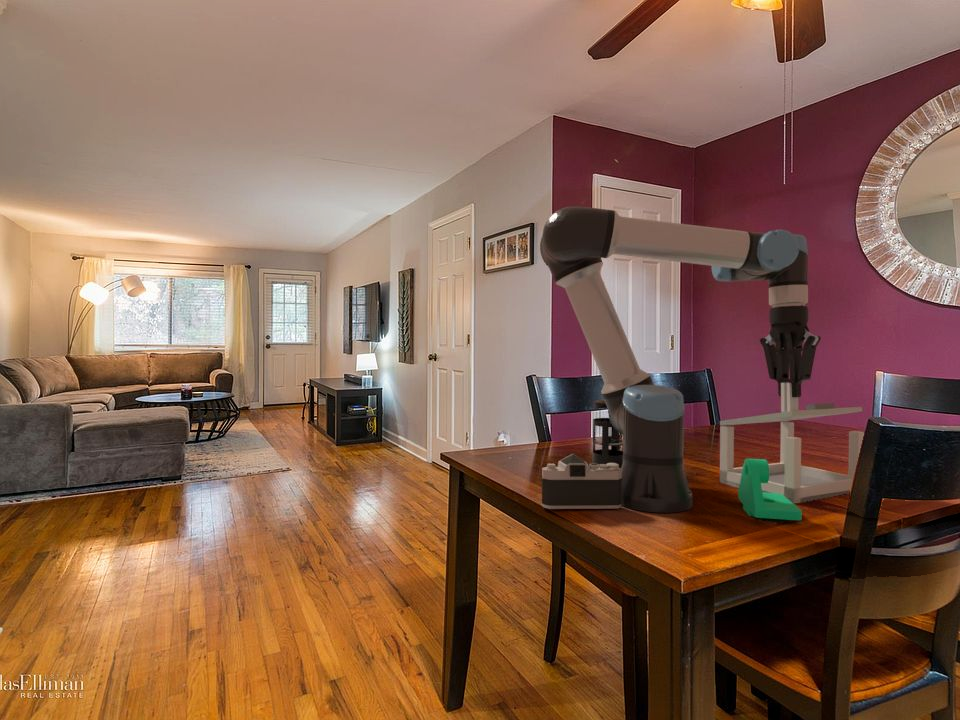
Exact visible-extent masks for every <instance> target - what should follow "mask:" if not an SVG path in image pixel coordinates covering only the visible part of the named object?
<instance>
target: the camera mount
mask: <svg viewBox="0 0 960 720" xmlns="http://www.w3.org/2000/svg"><path fill="white" fill-rule="evenodd" d="M743 461H744V462H743V465H742V467H743V470H742V475H741V480H740V485H739V488H738V491H737V499H738V500H739V501H740V502H741V503H742V509H743V510H744V512H745V513H747V515H748V516H749V517H755V518H760V519H771V520H772V519H774V520H784V521H785V520H789V521H802V518H803V517H802V515H803V513H802V512H803V511H802V509H800V508H799V507H798V506H797V505H796V504H793V503H792V502H791V501H789V500H788V499H787V498H786V497H784V496H783V495H782V494H778V493H764V492H762V487H761V483H768V481H769V465H768V464H769V463H768V460H767V459H765V458H764V459H763V458H761V459H760V458H745V459H744V460H743Z"/></svg>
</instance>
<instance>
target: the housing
mask: <svg viewBox="0 0 960 720" xmlns="http://www.w3.org/2000/svg"><path fill="white" fill-rule="evenodd" d="M719 426H720V427H719V430H720V433H719V483H720V484H724V485H727V486H730V487H734V488H737V489H739V485H740V480H741V475H742V470H743V466H739V467H734V466H735V465H734V460H735V459H734V457H735V455H734V454H735V453H734V452H735V451H734V450H735V449H734V447H735V446H734V445H735V443H734V442H735V427H734V426H731V425H719ZM864 432H865V431H859V430H849V431H848V467H847V469H848V472H847V473H848V474H844V473H839V472H834V471H831V470H830V471H829V470H825V469H820V468H816V467H812V466H807V465H803V464H802V437H797V436H795V422H792V421H780V449H779V450H780V453H779V454H780V455H779V456H780V458H779V459H780V461H779V462H773V463H768V465H769V481H768V483H761V487H762V492H764V493H778V494H782V495H783V496H784V497H786V498H787V499H788V500H789V501H791V502H792V503H793V504H794V505H796V504H803V503H807V501H808V502H813V500H815V501H818V499H820V500H823V499H822V498H826V499H829V498H828V497H831V498H834V497H833V496H836V497H839V496H838V495H842V496H844V495H843V494H847V495H850V494H849V493H850V489H851V486H852V482H853V477H854V473H855V469H856V465H857V461H858V457H859V453H860V448H861V444H862V440H863V436H864Z"/></svg>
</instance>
